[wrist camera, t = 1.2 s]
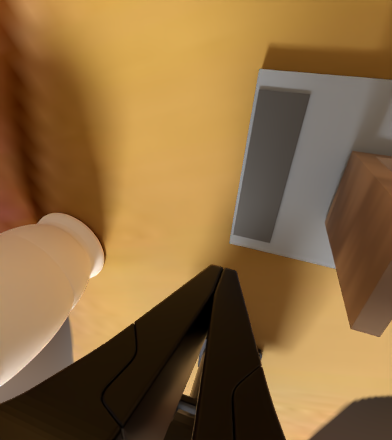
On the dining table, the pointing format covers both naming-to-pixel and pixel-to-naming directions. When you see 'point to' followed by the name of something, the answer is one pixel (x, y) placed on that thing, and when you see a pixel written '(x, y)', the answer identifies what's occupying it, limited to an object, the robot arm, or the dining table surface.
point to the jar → (41, 284)
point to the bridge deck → (304, 157)
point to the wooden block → (364, 240)
